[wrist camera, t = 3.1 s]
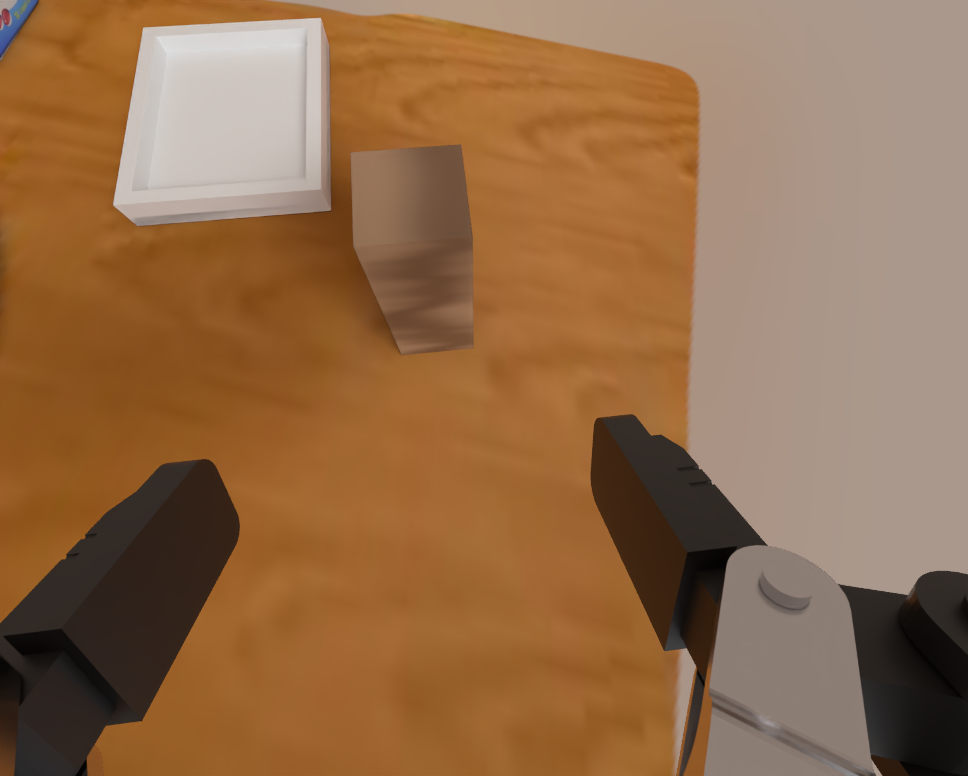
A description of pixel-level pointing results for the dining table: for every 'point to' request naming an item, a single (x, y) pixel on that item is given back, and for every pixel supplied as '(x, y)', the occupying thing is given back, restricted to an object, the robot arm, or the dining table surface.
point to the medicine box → (13, 20)
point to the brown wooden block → (416, 243)
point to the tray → (228, 123)
